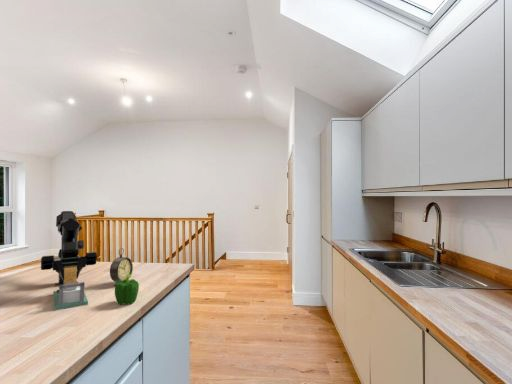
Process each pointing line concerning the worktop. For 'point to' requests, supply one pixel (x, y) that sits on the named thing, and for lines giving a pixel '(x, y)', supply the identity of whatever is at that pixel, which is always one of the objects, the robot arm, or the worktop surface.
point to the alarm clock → (121, 268)
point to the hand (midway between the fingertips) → (70, 278)
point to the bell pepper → (126, 291)
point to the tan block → (70, 276)
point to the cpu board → (67, 305)
